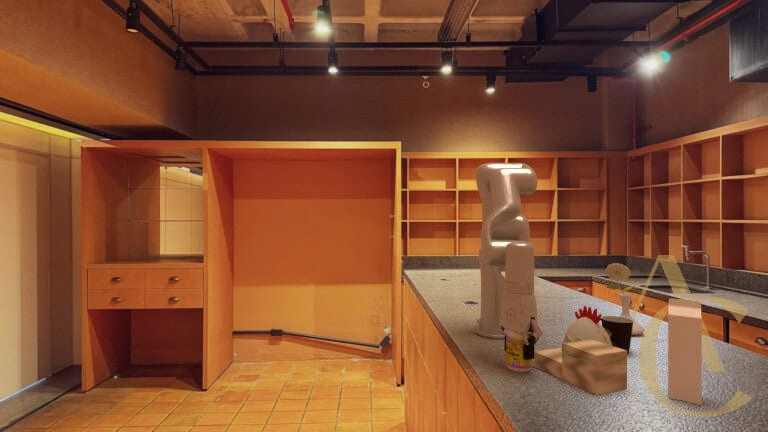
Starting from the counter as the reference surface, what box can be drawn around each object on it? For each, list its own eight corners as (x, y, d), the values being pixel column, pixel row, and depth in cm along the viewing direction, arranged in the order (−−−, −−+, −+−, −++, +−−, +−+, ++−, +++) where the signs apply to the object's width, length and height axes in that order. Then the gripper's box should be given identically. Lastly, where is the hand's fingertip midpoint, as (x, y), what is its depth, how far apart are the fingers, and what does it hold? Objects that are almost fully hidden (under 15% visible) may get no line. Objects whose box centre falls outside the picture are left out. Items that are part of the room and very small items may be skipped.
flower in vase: (650, 334, 145) (650, 264, 145) (635, 339, 139) (635, 265, 139) (612, 326, 156) (612, 261, 156) (597, 330, 149) (597, 262, 150)
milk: (668, 390, 96) (668, 296, 97) (701, 396, 93) (700, 299, 93) (668, 398, 91) (667, 300, 92) (702, 405, 88) (701, 303, 88)
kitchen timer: (593, 369, 109) (593, 313, 110) (551, 354, 122) (551, 304, 122) (625, 361, 116) (625, 309, 116) (581, 348, 128) (582, 300, 128)
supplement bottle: (500, 365, 111) (500, 318, 111) (519, 362, 114) (519, 316, 114) (518, 374, 105) (518, 324, 105) (537, 370, 108) (537, 322, 108)
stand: (532, 366, 111) (533, 333, 111) (561, 361, 115) (561, 329, 115) (595, 395, 93) (595, 355, 93) (627, 388, 96) (627, 350, 97)
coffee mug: (638, 357, 119) (638, 323, 120) (606, 355, 121) (606, 321, 121) (623, 345, 131) (623, 314, 131) (594, 344, 132) (594, 313, 133)
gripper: (488, 284, 116) (487, 347, 116) (531, 294, 100) (530, 367, 100) (509, 283, 119) (508, 344, 119) (554, 292, 103) (554, 363, 103)
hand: (518, 354), depth 109 cm, fingers closed on supplement bottle, 6 cm apart
